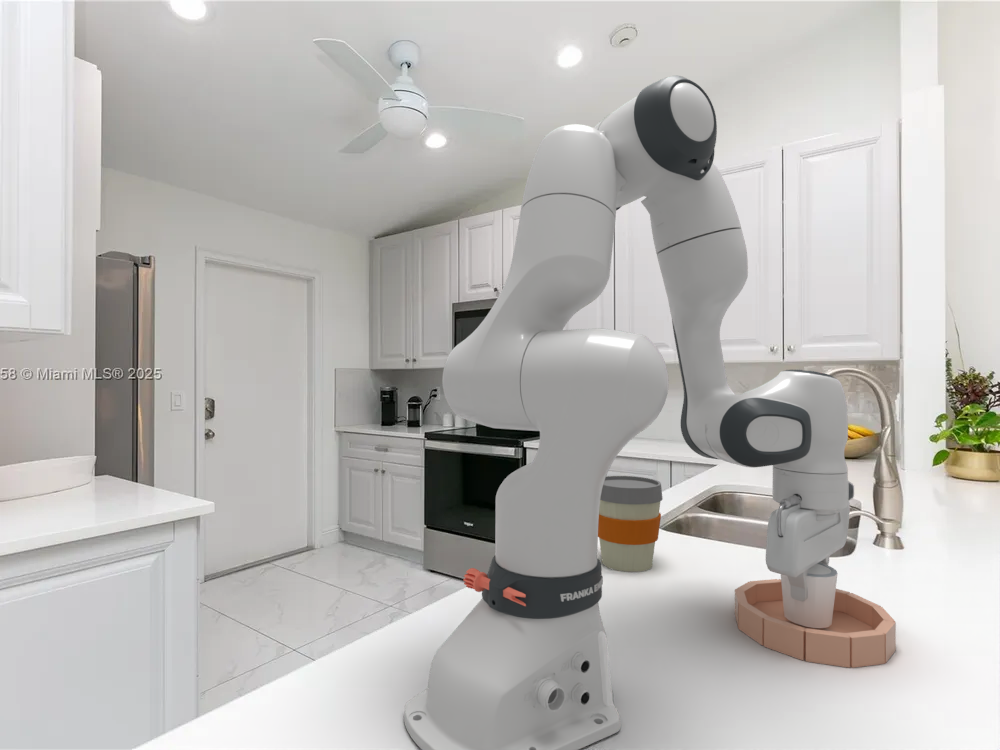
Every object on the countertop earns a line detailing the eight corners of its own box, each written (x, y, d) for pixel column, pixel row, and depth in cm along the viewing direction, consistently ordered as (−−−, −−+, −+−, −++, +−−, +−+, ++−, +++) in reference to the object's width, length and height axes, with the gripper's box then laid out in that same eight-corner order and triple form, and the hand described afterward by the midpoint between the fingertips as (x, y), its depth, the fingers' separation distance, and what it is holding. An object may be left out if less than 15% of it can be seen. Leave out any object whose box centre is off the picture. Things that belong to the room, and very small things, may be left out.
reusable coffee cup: (677, 566, 98) (677, 483, 98) (629, 581, 91) (629, 491, 91) (624, 548, 108) (625, 473, 108) (578, 560, 101) (578, 479, 101)
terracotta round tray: (869, 684, 60) (869, 652, 60) (712, 627, 74) (712, 602, 74) (908, 633, 72) (908, 607, 72) (767, 593, 86) (767, 570, 86)
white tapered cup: (845, 633, 69) (845, 578, 69) (786, 627, 71) (786, 573, 71) (826, 610, 76) (827, 560, 76) (773, 605, 77) (773, 556, 77)
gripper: (806, 506, 64) (806, 623, 64) (858, 484, 78) (857, 581, 78) (752, 497, 69) (751, 606, 69) (810, 478, 82) (809, 569, 82)
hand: (808, 592), depth 73 cm, fingers closed on white tapered cup, 5 cm apart
